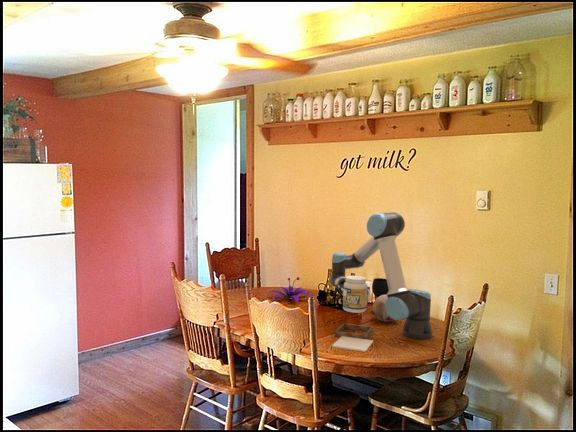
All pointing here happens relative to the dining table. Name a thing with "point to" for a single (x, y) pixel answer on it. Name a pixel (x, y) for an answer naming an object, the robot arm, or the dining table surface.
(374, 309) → the ornament
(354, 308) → the supplement tub
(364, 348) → the off-white mat
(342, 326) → the walnut collar
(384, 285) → the wine glass
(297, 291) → the decorative flower
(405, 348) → the dining table surface
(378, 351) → the dining table surface
